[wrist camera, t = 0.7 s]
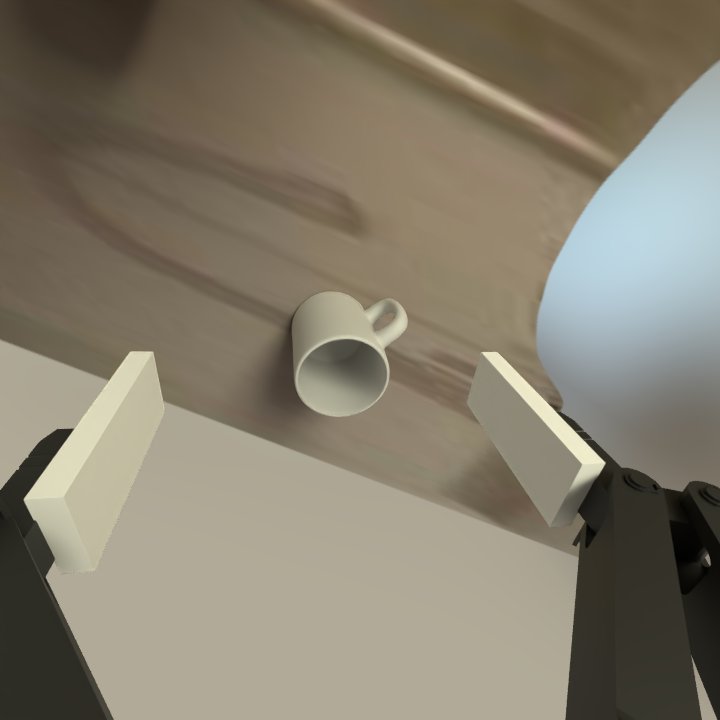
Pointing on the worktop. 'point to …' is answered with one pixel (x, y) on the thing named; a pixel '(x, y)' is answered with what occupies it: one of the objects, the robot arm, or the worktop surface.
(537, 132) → the worktop surface
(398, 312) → the mug
